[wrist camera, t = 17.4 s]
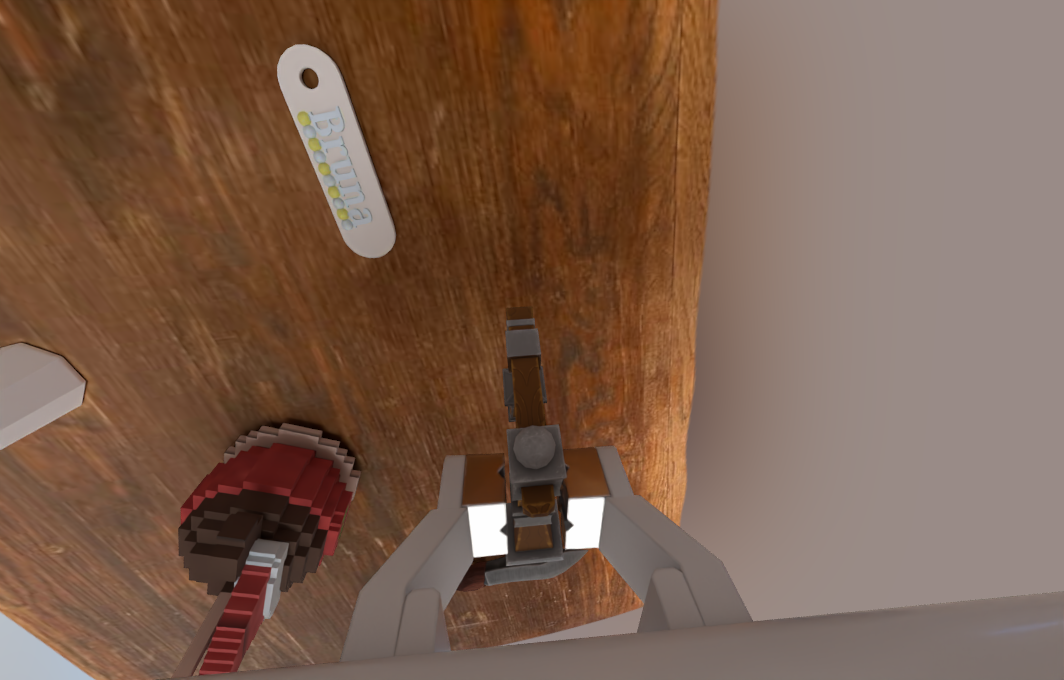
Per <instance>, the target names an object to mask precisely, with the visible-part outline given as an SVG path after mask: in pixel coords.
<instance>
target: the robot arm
mask: <svg viewBox="0 0 1064 680" xmlns="http://www.w3.org/2000/svg"><path fill="white" fill-rule="evenodd" d="M563 456H564V462H565V469H566V475H567V478H565V479H563V481H562V484H561V487H560V495H561V496H556V497H557V504H558V510H559V511H560V512H561V528H562V534H563V540H564V545H565V549H583V548H599V550H600V551H601V553H602V554H603V555H604V556H605V557H606V559H607V560H608V561H609V562H610V563H611V565H612V566H613V567H614V568H615V569H616V571H617V572H618V573H619V574H620V575H621V577H622V578H623V579H624V580H625V581H626V583H627V584H628V585H629V586H630V587H631V588H632V590H633V591H634V592H635V593H636V594H637V596H638V597H639V598H640V599H641V600H642V602H643V603H644V607H643V611H642V615H641V619H640V623H639V627H638V631H637V633H631V634H620V635H610V636H599V637H589V638H579V639H568V640H558V641H548V642H538V643H528V644H518V645H507V646H497V647H487V648H477V649H466V650H456V651H451V649H450V644H449V638H448V633H447V628H446V622H445V617H444V612H443V611H444V610H445V608H446V606H447V605H448V603H449V601H450V600H451V598H452V596H453V594H454V593H455V591H456V589H457V588H458V586H459V584H460V582H461V581H462V579H463V577H464V576H465V574H466V572H467V570H468V569H469V567H470V565H471V564H472V562H473V558H476V557H485V556H494V555H503V554H508V537H507V506H506V480H505V458H504V453H496V454H468V455H452V456H446V457H445V460H444V465H443V472H442V479H441V486H440V493H439V500H438V507H437V509H435V510H431V511H430V512H429V513H428V514H427V515H426V516H425V517H424V519H423V520H422V521H421V522H420V523H419V524H418V525H417V526H416V528H415V529H414V530H413V531H412V532H411V533H410V534H409V536H408V537H407V538H406V539H405V540H404V541H403V542H402V544H401V545H400V546H399V547H398V548H397V549H396V550H395V552H394V553H393V554H392V555H391V556H390V557H389V558H388V560H387V561H386V562H385V563H384V564H383V565H382V566H381V568H380V569H379V570H378V571H377V572H376V573H375V574H374V576H373V577H372V578H371V579H370V580H369V581H368V582H367V584H366V585H365V586H364V587H363V588H362V589H361V590H360V592H359V595H358V599H357V602H356V606H355V609H354V613H353V616H352V620H351V623H350V627H349V630H348V633H347V637H346V640H345V644H344V647H343V651H342V654H341V658H340V661H339V662H333V663H323V664H312V665H302V666H292V667H281V668H271V669H261V670H251V671H240V672H230V673H220V674H209V675H199V676H188V677H178V678H167V679H157V680H1064V592H1052V593H1042V594H1032V595H1021V596H1011V597H1001V598H992V599H981V600H970V601H960V602H950V603H940V604H930V605H919V606H909V607H898V608H889V609H878V610H868V611H858V612H847V613H837V614H827V615H816V616H806V617H797V618H786V619H775V620H765V621H754V622H753V620H752V618H751V616H750V614H749V613H748V611H747V609H746V607H745V605H744V603H743V601H742V599H741V597H740V595H739V593H738V591H737V589H736V587H735V585H734V583H733V582H732V580H731V578H730V576H729V574H728V572H727V570H726V568H725V566H724V564H723V562H722V561H721V560H720V559H718V558H717V557H716V556H714V555H713V554H712V553H711V552H710V551H708V550H707V549H706V548H705V547H703V546H702V545H701V544H700V543H698V542H697V541H696V540H695V539H694V538H692V537H691V536H690V535H688V534H687V533H686V532H685V531H684V530H682V529H681V528H680V527H679V526H677V525H676V524H675V523H674V522H672V521H671V520H670V519H669V518H668V517H666V516H665V515H664V514H663V513H661V512H660V511H659V510H658V509H656V508H655V507H654V506H653V505H651V504H650V503H649V502H648V501H646V500H645V499H644V498H643V497H641V496H640V495H634V494H633V491H632V489H631V486H630V484H629V481H628V478H627V476H626V473H625V470H624V468H623V465H622V462H621V460H620V457H619V455H618V452H617V449H616V448H615V447H614V446H601V447H595V448H594V447H588V448H574V449H563Z"/></svg>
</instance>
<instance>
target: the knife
mask: <svg viewBox="0 0 1064 680" xmlns="http://www.w3.org/2000/svg"><path fill="white" fill-rule="evenodd" d="M587 551H588V550H581V549H563V556H564V560H559V561H550V562H541V563H531V564H522V565H512V566H506V557H503V558H499V559H495V560H491V561H487V562H478V563H476V564H474V565H470V567H469V569H468V570H467V572H466V574H465V576H464V577H463V579H462V581H461V582H460V584H459V586H458V588H457V589H456V590H459V591H464V592H466V591H474V590H478V589H480V588H482V587H485V586H486V585H488V586H491V585H494V584H500V583H506V582H514V581H524V580H538V579H548V578H552V577H555V576H557V575H559V574H561V573H563V572H564V571H566V570H567V569H568V568H570V567H571V566H572V565H574V564H575V563H576V562H577V561H579V560H580V559H581V558H582V557H583V556H584V555H585V554H586V552H587Z"/></svg>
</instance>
